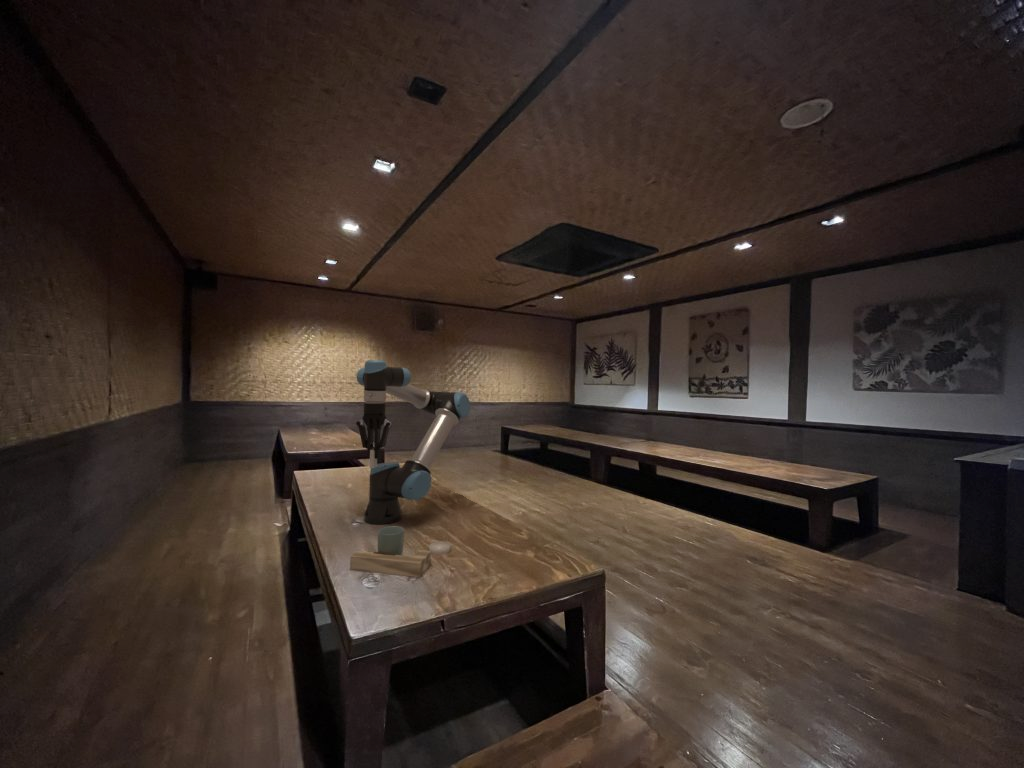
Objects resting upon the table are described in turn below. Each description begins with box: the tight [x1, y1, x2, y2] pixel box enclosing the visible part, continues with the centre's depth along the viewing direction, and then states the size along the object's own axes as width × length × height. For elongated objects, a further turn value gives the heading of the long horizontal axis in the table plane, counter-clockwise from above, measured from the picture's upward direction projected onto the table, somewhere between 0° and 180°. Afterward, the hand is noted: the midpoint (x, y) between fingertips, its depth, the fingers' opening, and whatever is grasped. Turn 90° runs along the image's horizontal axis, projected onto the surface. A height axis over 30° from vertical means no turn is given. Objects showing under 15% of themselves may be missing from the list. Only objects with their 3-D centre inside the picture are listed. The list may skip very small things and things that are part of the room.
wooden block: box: [349, 549, 432, 578], centre depth 121 cm, size 9×22×4 cm, turn 81°
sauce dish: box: [428, 540, 451, 555], centre depth 135 cm, size 7×7×2 cm
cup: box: [377, 525, 405, 556], centre depth 125 cm, size 8×8×10 cm
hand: (373, 467), depth 143 cm, fingers closed
